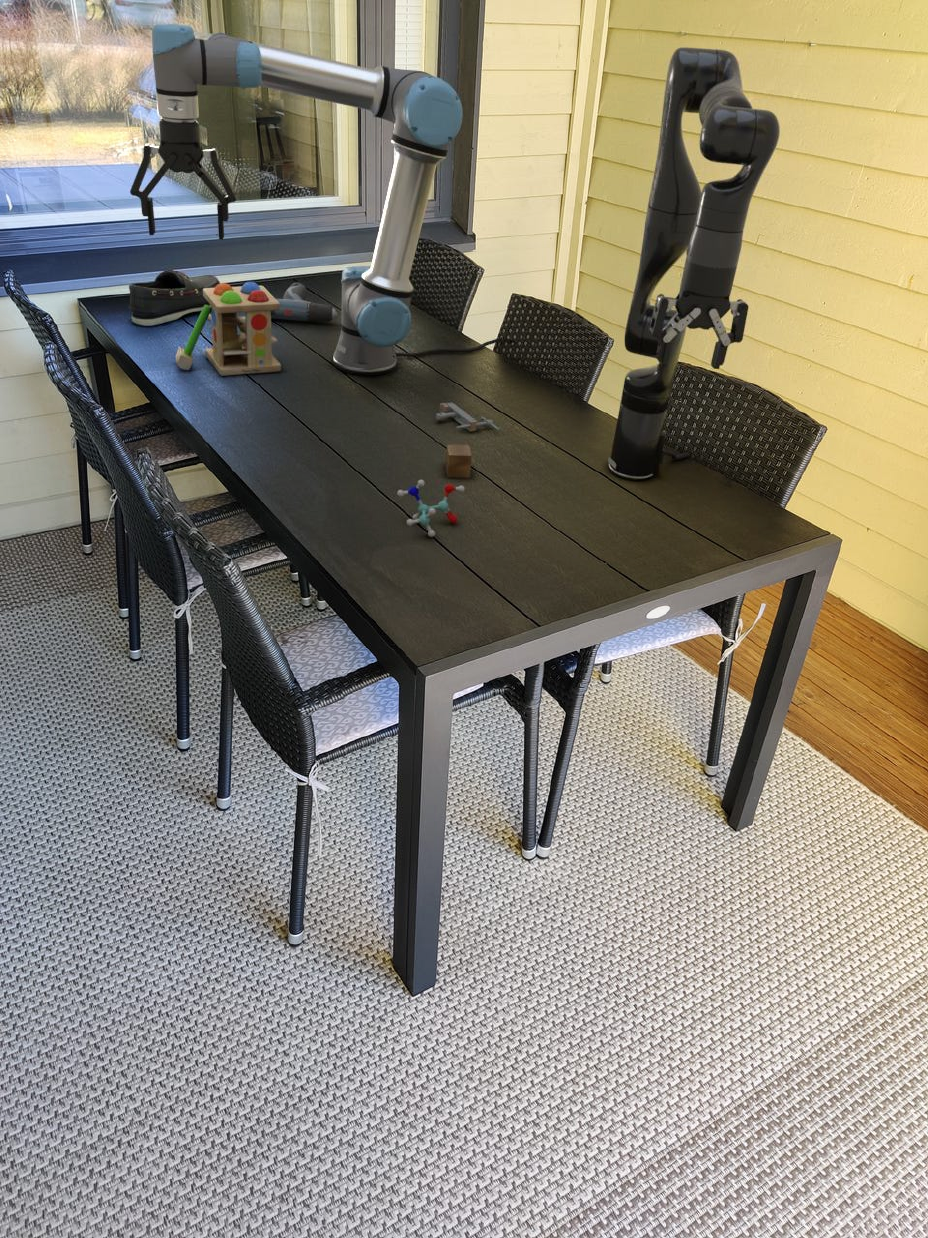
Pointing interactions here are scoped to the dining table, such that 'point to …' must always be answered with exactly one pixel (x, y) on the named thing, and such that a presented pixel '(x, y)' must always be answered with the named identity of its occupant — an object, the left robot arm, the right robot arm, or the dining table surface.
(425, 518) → the molecular model
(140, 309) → the boat shoe
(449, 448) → the block
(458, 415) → the clamp
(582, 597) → the dining table surface
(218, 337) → the pounding bench toy
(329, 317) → the power drill
